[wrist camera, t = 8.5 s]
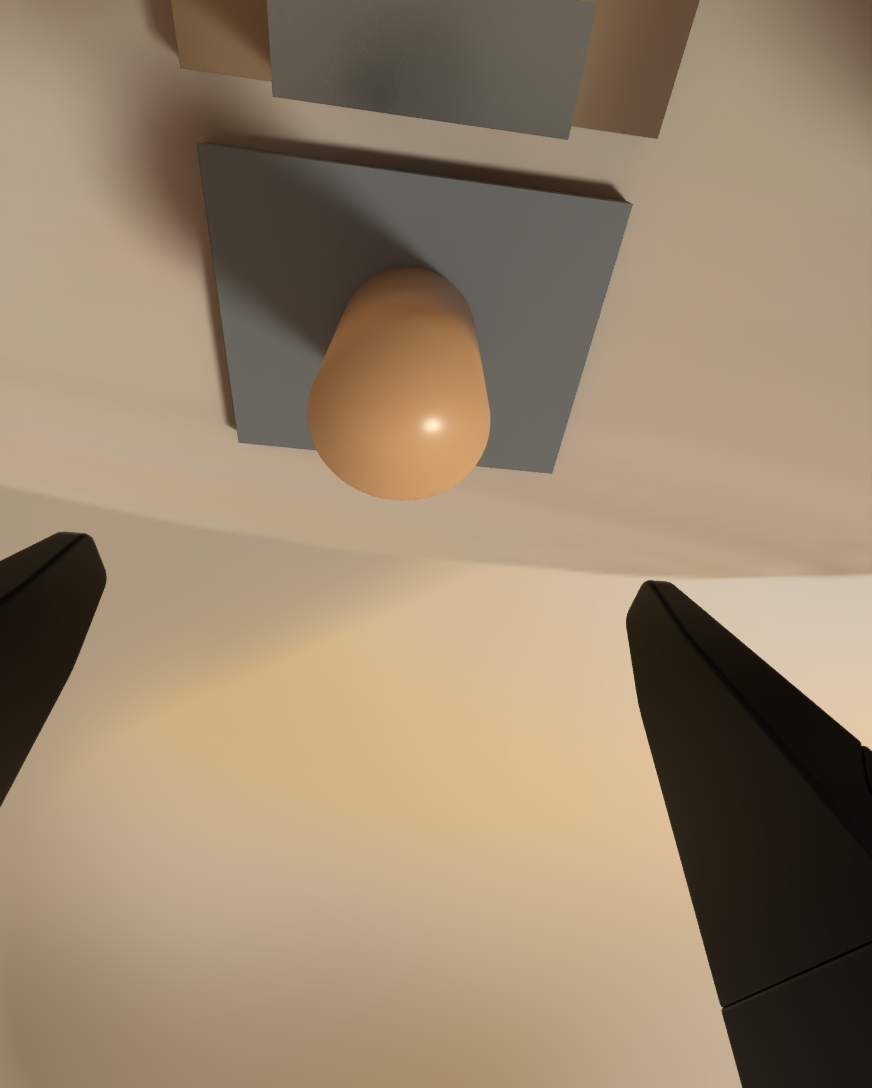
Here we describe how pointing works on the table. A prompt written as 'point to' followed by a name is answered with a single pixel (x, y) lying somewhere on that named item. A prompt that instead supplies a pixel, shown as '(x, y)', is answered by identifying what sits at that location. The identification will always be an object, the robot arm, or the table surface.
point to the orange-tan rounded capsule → (402, 388)
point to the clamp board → (606, 85)
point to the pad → (404, 240)
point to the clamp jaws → (436, 58)
